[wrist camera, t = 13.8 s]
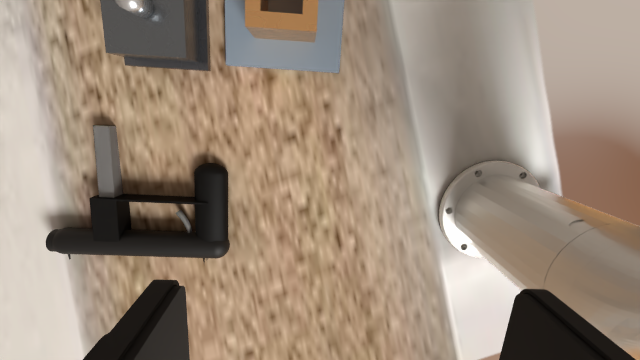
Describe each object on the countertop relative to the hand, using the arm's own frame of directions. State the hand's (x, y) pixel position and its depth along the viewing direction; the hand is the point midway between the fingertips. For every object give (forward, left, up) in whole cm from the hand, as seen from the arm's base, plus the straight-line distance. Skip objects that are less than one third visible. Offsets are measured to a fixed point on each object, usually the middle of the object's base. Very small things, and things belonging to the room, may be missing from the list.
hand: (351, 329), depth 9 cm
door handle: (+20, +6, -29) cm, 36 cm away
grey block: (+16, -15, -28) cm, 36 cm away
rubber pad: (+4, -15, -28) cm, 32 cm away
